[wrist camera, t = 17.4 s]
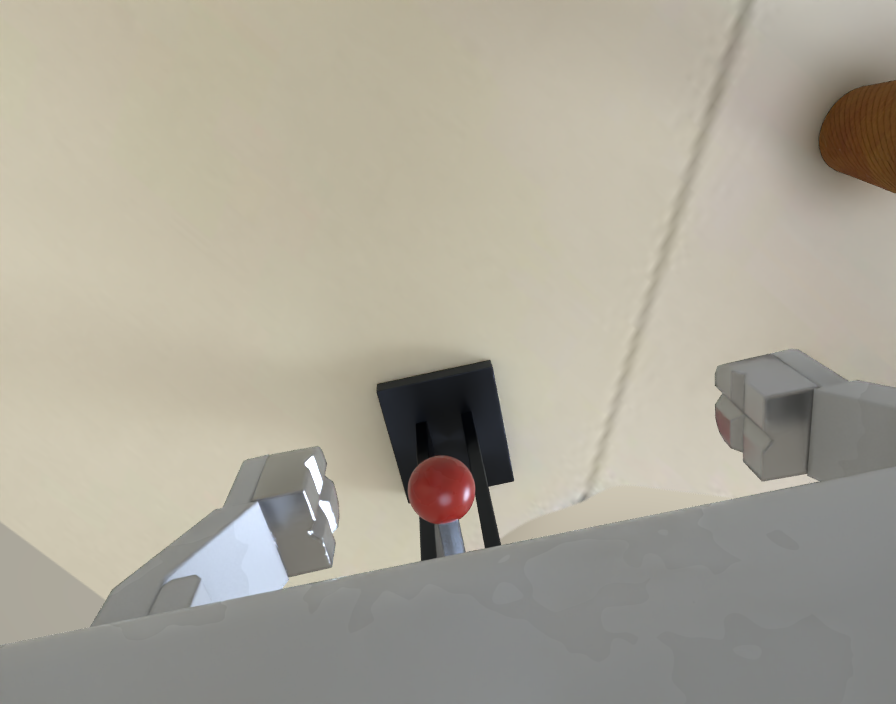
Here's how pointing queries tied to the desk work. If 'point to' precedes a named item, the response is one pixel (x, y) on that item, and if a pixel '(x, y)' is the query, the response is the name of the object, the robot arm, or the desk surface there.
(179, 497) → the desk surface
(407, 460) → the bracket
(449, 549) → the lever
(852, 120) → the disposable coffee cup
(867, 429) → the robot arm
